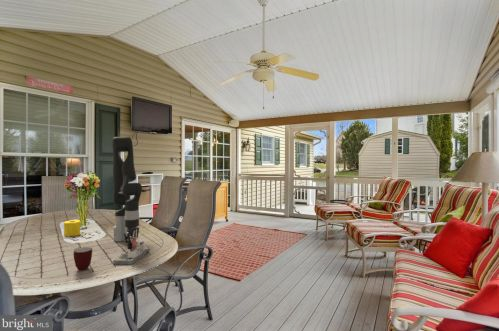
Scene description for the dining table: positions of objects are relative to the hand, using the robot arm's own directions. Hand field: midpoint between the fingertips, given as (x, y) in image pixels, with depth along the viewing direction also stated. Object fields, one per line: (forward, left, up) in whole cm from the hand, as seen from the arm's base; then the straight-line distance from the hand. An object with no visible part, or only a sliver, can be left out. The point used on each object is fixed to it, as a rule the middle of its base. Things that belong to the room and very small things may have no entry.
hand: (131, 247), depth 157 cm
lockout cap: (0, 0, 0) cm, 0 cm away
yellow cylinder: (-65, +43, -6) cm, 78 cm away
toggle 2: (+3, +6, -3) cm, 8 cm away
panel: (0, 0, -5) cm, 5 cm away
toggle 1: (+3, -6, -3) cm, 7 cm away
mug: (-18, -18, -6) cm, 26 cm away
